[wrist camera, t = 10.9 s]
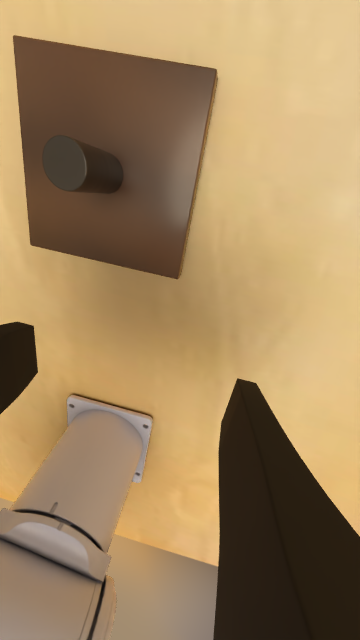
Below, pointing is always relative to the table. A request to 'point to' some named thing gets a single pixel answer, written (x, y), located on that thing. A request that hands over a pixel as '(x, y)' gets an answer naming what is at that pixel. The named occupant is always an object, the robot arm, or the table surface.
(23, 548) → the robot arm
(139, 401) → the table surface
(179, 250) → the stand
